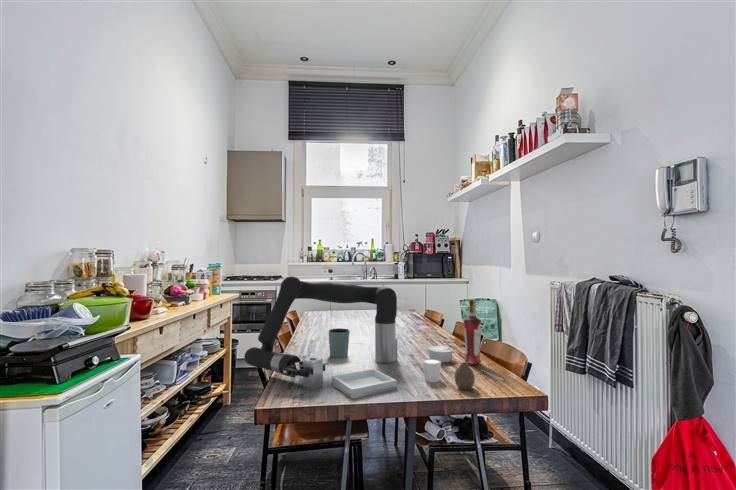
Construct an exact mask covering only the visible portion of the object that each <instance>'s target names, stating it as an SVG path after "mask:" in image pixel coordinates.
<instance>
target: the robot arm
mask: <svg viewBox="0 0 736 490" xmlns="http://www.w3.org/2000/svg"><path fill="white" fill-rule="evenodd" d="M296 299H297V300H300V299H301V300H305V299H307V300H308V299H309V300H316V301H321V302H329V303H333V304H334V303H336V304H355V303H367V304H372V305H376V313H375V317H374V335H375V337H374V338H375V339H374V340H375V341H374V347H375V349H374V351H375V352H374V355H375V356H374V357H375V358H374V359H375V362H376V363H381V364H391V363H395V362H397V361H398V338H396V334H397V333H396V319H397V312H398V311H397V309H398V308H397V307H398V302H397V301H398V300H397V299H398V298H397V293H396V291H395V290H394V289H393V288H391V287H389V286H363V285H359V284H353V283H349V282H340V281H322V282H309V281H304V280H300V279H299V278H298V277H296V276H291V275H290V276H288V277H285V278H284V279H283V280H281V283H280V288H279V292H278V294H277V298H276V301H275V302H274V305H273V307H272V309H271V311H270V313H269V315H268V317H267V319H266V320H265V322H264V324H263V326H262V327H261V330H260V332H259V334H258V336H257V341H258V342H260V343H261V348H259V347H256V346H255V347H253V346H252V347H249V348H248V349H247V350H246V351H245V353H244V355H243V356H244V357H243V358H244V362H245V363H246V364H247V365H249V366H252V367H255V368H258V369H265V370H268V371H272V372H274V373H278V374H281V375H283V376H287V377H289V378H296V377H297V378H298V377H302V378H303V377H309V371H307V370H303V360H301V359H300V358H299V356H298V355H295V354H294V355H293V354H289V353H285V352H277V351H276V352H275V351H273V350H274V345H275V342H276V339H277V338H278V336H279V334H280V332H281V330H282V327H283V324H284V322H285V319H286V316H287V314H288V312H289V310H290V308H291V306H292V305H293V303H294V302H295V300H296ZM325 371H326V365H325V364H323V372H325Z"/></svg>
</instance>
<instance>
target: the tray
mask: <svg viewBox="0 0 736 490" xmlns="http://www.w3.org/2000/svg"><path fill="white" fill-rule="evenodd" d="M331 385H332V386H333V387H335V388H336V389H338V390H339V391H341V392H342V393H343V394H345V395H347V397H350V399H356V398H357V399H358V398H361V397H365V396H369V395H374V394H379V393H383V392H388V391H392V390H397V389H398V379H395V378H393V377H391V376H390V375H387V374H385V373H383V372H381V371H379V370H377V369H375V368H370V369H364V370H359V371H353V372H347V373H342V374H341V373H340V374H337V375H333V376H331Z"/></svg>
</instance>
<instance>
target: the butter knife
mask: <svg viewBox="0 0 736 490" xmlns="http://www.w3.org/2000/svg"><path fill="white" fill-rule="evenodd" d="M483 371H484V373H485V372H486V373H485V374H487V375H489V376H491V377H492V378H494V379H496V380H498V381H505V379H504V378H503V377H500V376H498V375H496V374H493V373H491V372H489V371H486V370H483V369H481V370H480V372H483Z"/></svg>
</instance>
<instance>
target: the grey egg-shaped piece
mask: <svg viewBox="0 0 736 490" xmlns="http://www.w3.org/2000/svg"><path fill="white" fill-rule="evenodd" d="M475 380H476V379H475V373H474V371H473V369H472V368H471V367H470V365H469V364H468V363H467V362H460V365H459V366H458V367H457V369H456V370H455V372H454V383H455V385H456V387H458V389H459V390H462V391H469V390H471V389H473V387H474V385H475V382H476V381H475Z"/></svg>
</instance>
